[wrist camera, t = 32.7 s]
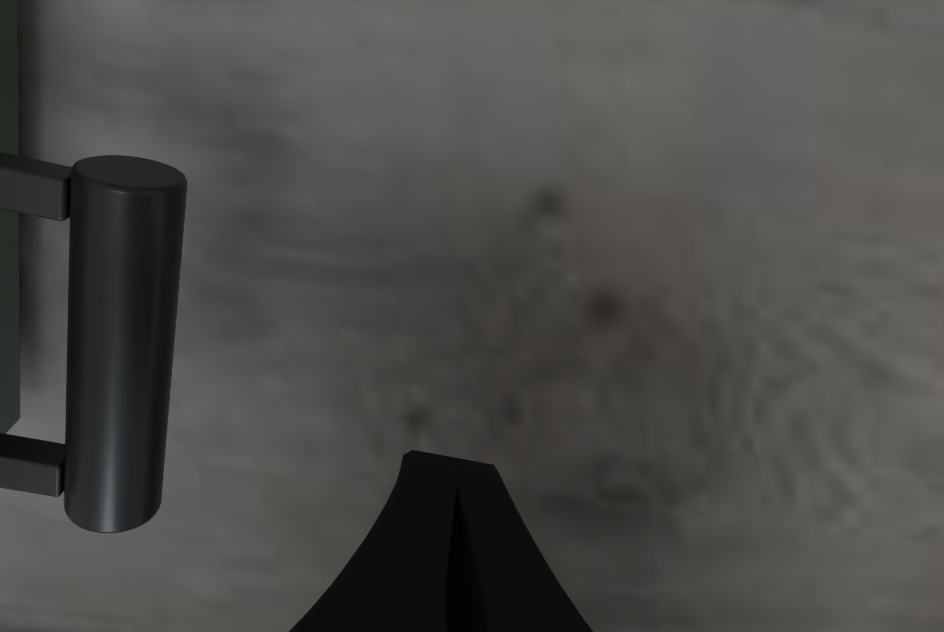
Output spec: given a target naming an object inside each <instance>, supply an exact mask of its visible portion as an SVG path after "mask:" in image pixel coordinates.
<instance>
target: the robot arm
mask: <svg viewBox="0 0 944 632" xmlns="http://www.w3.org/2000/svg"><path fill="white" fill-rule="evenodd" d="M289 632H593V631H592V630H591V628H590V627H589V626H588V624H587V623H586V622H585V620H584V619H583V617H582V616H581V615H580V613H579V612H578V610H577V609H576V607H575V606H574V604H573V603H572V601H571V600H570V598H569V597H568V596H567V594H566V593H565V591H564V590H563V588H562V587H561V585H560V583H559V582H558V580H557V579H556V577H555V575H554V574H553V572H552V571H551V569H550V567H549V566H548V564H547V562H546V561H545V559H544V557H543V555H542V554H541V552H540V550H539V549H538V547H537V545H536V544H535V542H534V540H533V538H532V537H531V535H530V533H529V531H528V529H527V528H526V526H525V524H524V522H523V520H522V518H521V516H520V514H519V512H518V511H517V509H516V507H515V505H514V503H513V501H512V499H511V497H510V495H509V493H508V491H507V489H506V487H505V485H504V482H503V480H502V478H501V476H500V474H499V472H498V471H497V469H496V468H495V466H494V465H492V464H487V463H481V462H476V461H470V460H465V459H459V458H454V457H448V456H443V455H437V454H432V453H426V452H421V451H415V450H412V451H410V452H408V453H406V454H404V455H403V459H402V463H401V468H400V472H399V476H398V479H397V482H396V484H395V486H394V488H393V490H392V493H391V495H390V497H389V499H388V501H387V503H386V504H385V506H384V508H383V510H382V511H381V513H380V515H379V516H378V518H377V520H376V522H375V523H374V525H373V527H372V528H371V530H370V532H369V533H368V535H367V536H366V538H365V539H364V541H363V542H362V544H361V545H360V546H359V548H358V549H357V551H356V552H355V553H354V555H353V556H352V558H351V559H350V560H349V562H348V563H347V565H346V566H345V567H344V569H343V570H342V572H341V573H340V574H339V575H338V577H337V578H336V579H335V580H334V582H333V583H332V584H331V585H330V587H329V588H328V589H327V590H326V591H325V593H324V594H323V595H322V596H321V597H320V599H319V600H318V601H317V602H316V603H315V604H314V605H313V606H312V608H311V609H310V610H309V611H308V612H307V613H306V614H305V615H304V617H303V618H302V619H301V620H300V621H299V622H298V623H297V624H296V625H295V626H294V627H293V628H292V629H291V630H290V631H289Z"/></svg>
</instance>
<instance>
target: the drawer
mask: <svg viewBox="0 0 944 632" xmlns="http://www.w3.org/2000/svg"><path fill="white" fill-rule="evenodd" d="M186 194H187V180H186V177H185V175H184V174H183V173H182V172H181V171H179V170H177V169H176V168H174V167H171V166H169V165H166V164H164V163H161V162H157V161H154V160H149V159H145V158H139V157H131V156H118V155H106V156H95V157H89V158H85V159H82V160H79V161H77V162H76V163H75V164H74V165H73V167H68V166H63V165H59V164H54V163H49V162H44V161H39V160H35V159H30V158H25V157H20V156H19V134H18V0H0V488H6V489H12V490H18V491H24V492H30V493H36V494H42V495H48V496H54V497H59V496H60V495H61V494H62V492H63V491H64V509H65V512H66V514H67V516H68V517H69V519H70V520H71V521H72V522H73V523H74V524H76V525H77V526H79V527H81V528H83V529H86V530H89V531H93V532H99V533H117V532H123V531H128V530H131V529H134V528H137V527H139V526H141V525H143V524H144V523H146V522H147V521H149V520H150V519H151V518H152V517H153V516H154V515H155V514H156V512H157V511H158V509H159V507H160V504H161V497H162V485H163V472H164V460H165V448H166V436H167V424H168V412H169V400H170V388H171V376H172V364H173V351H174V339H175V327H176V315H177V303H178V291H179V279H180V267H181V255H182V243H183V230H184V218H185V206H186ZM19 213H23V214H28V215H33V216H38V217H43V218H48V219H53V220H58V221H65V220H67V219H68V218H70V243H69V290H68V337H67V384H66V431H65V444H61V443H55V442H50V441H44V440H38V439H32V438H27V437H21V436H15V435H9V434H6V433H7V432H8V431H9V429H10V428H11V427H12V426H13V425H14V424H15V423H16V422H17V421H18V420H19V418H20V298H19Z"/></svg>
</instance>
